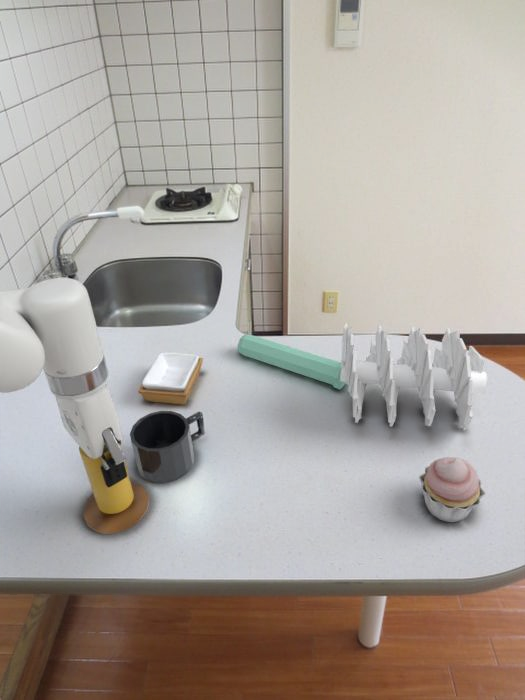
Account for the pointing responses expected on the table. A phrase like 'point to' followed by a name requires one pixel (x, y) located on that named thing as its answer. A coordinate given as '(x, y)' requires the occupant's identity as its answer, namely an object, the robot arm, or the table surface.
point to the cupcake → (451, 488)
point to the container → (292, 359)
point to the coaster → (118, 520)
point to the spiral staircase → (414, 372)
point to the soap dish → (171, 378)
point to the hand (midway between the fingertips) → (106, 468)
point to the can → (106, 497)
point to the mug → (165, 445)
